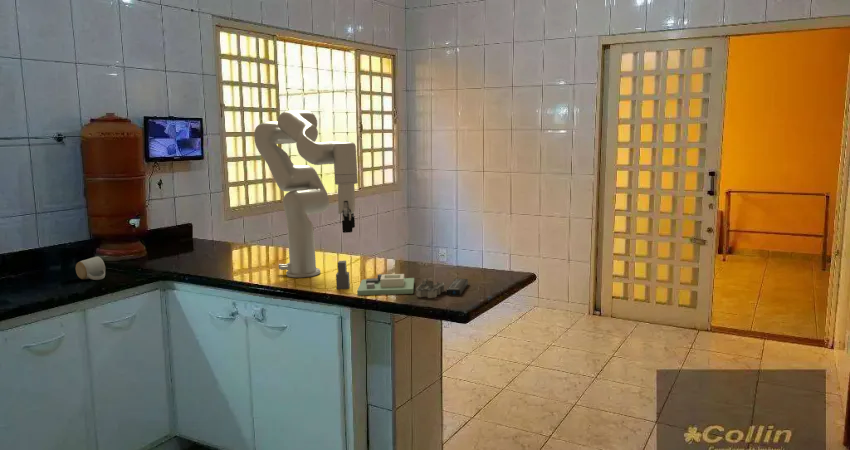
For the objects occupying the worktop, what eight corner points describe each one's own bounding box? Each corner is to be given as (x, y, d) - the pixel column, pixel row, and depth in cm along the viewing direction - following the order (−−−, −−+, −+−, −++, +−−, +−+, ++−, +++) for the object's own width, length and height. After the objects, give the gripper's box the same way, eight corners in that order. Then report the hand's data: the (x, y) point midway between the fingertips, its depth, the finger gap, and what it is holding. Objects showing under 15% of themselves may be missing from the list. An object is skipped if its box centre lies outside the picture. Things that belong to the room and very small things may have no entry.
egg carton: (426, 289, 207) (426, 277, 206) (447, 291, 204) (447, 279, 203) (412, 297, 197) (412, 284, 197) (434, 299, 194) (433, 286, 194)
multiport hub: (468, 285, 211) (467, 278, 210) (460, 296, 197) (459, 289, 196) (455, 285, 212) (455, 278, 211) (446, 296, 198) (446, 289, 197)
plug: (336, 289, 210) (335, 262, 209) (338, 286, 213) (336, 260, 212) (348, 288, 210) (347, 261, 208) (349, 286, 213) (348, 259, 212)
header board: (357, 295, 201) (356, 283, 201) (362, 283, 216) (361, 272, 215) (413, 293, 201) (412, 281, 200) (414, 282, 216) (413, 270, 215)
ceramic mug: (75, 279, 238) (72, 259, 237) (95, 274, 245) (93, 255, 244) (91, 282, 233) (88, 262, 231) (111, 277, 240) (109, 258, 238)
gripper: (337, 177, 216) (340, 226, 219) (331, 182, 199) (334, 234, 202) (359, 177, 217) (361, 225, 219) (355, 181, 199) (358, 233, 202)
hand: (349, 230), depth 211 cm, fingers open, 9 cm apart
